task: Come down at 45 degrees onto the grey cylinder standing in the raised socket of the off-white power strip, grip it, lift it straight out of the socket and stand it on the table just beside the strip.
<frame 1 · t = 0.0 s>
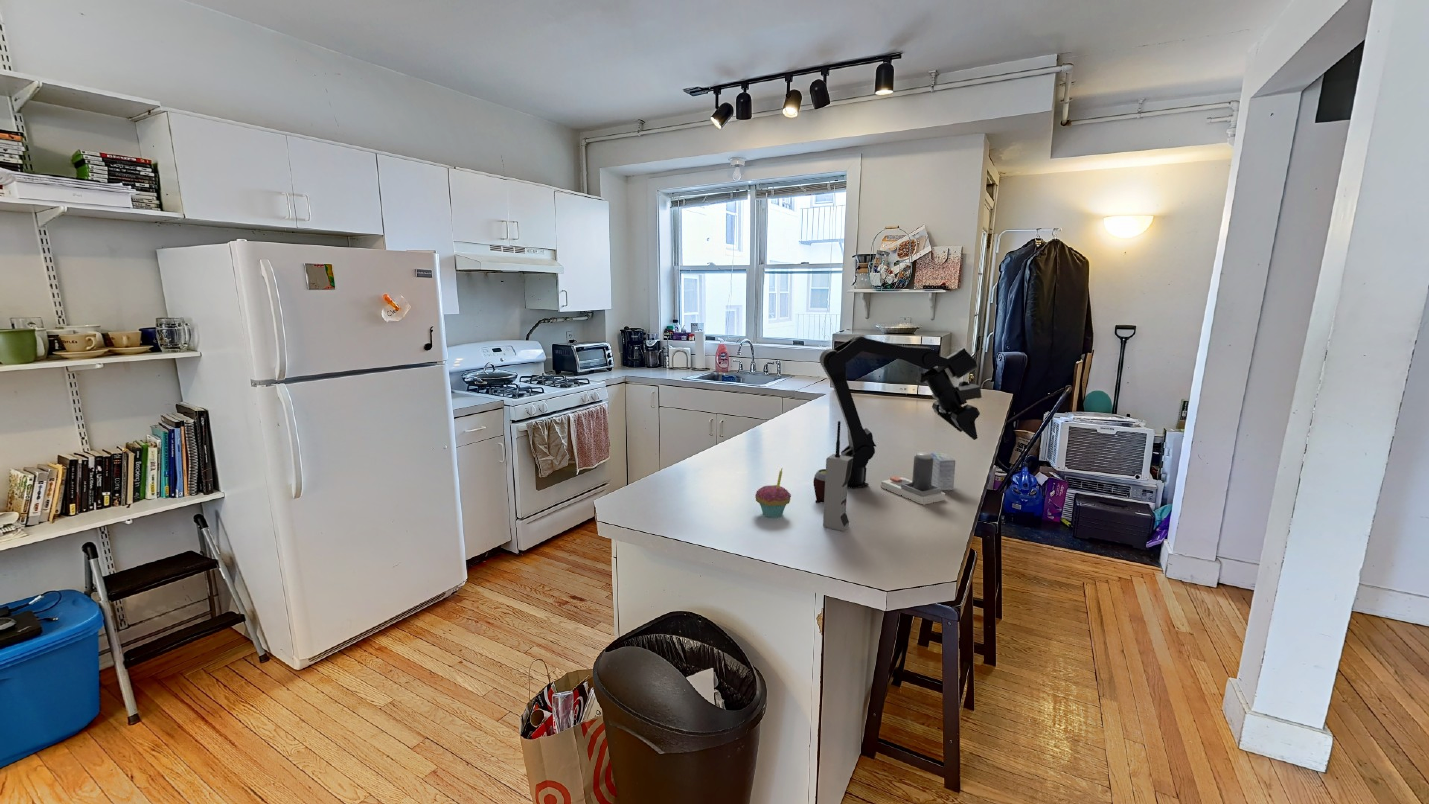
hand: (968, 434, 158), 15 cm above the table, tool tilted 35°, fingers open, 9 cm apart
grey cylinder: (921, 490, 152), point 2 cm above the table, touching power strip
cupcake: (772, 515, 139), on the table
mate gourd: (828, 502, 148), on the table
vintage mobile phone: (835, 527, 132), on the table
medicine box: (940, 486, 161), on the table
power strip: (911, 493, 155), on the table
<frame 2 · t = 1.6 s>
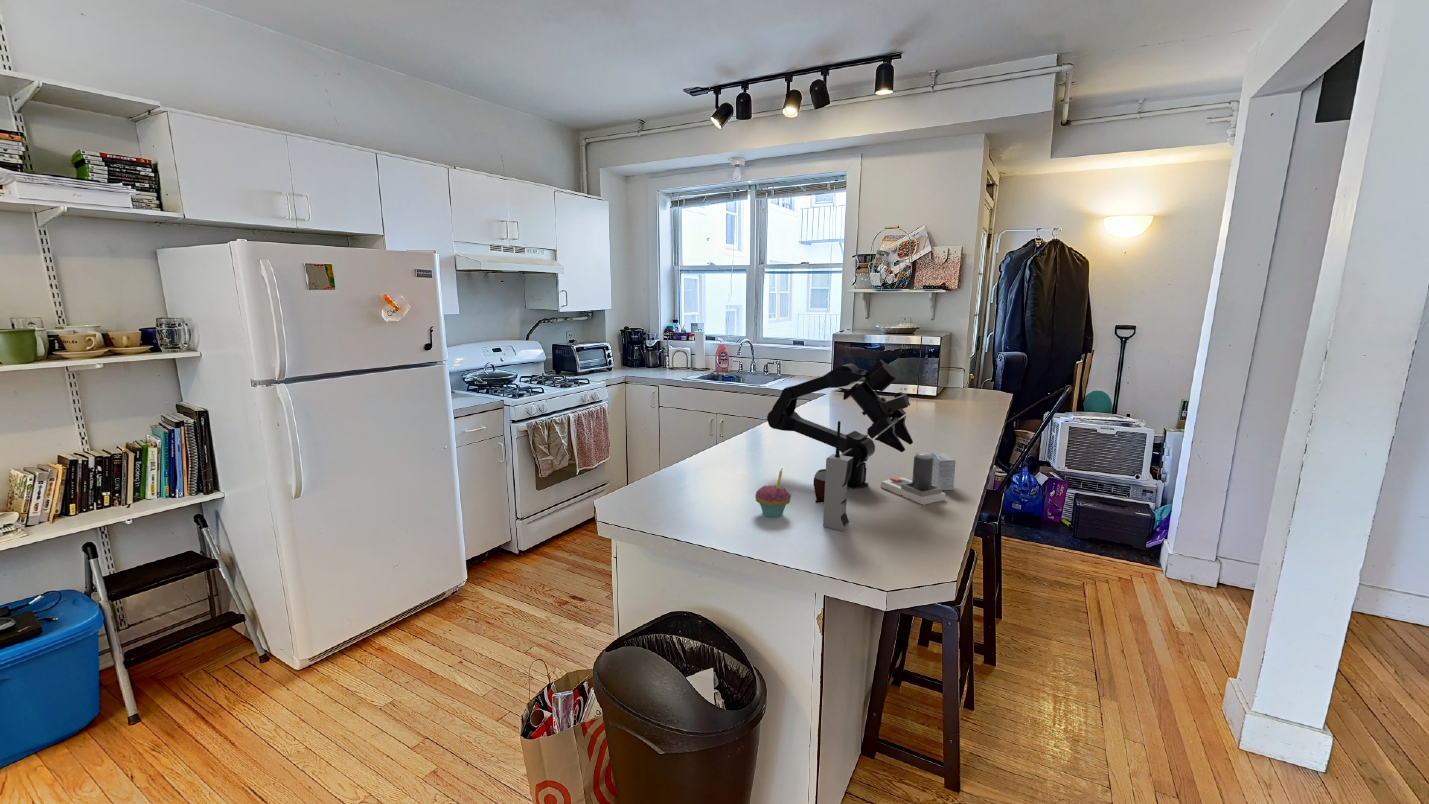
hand: (907, 447, 152), 13 cm above the table, tool tilted 45°, fingers open, 9 cm apart
nothing on the table moved.
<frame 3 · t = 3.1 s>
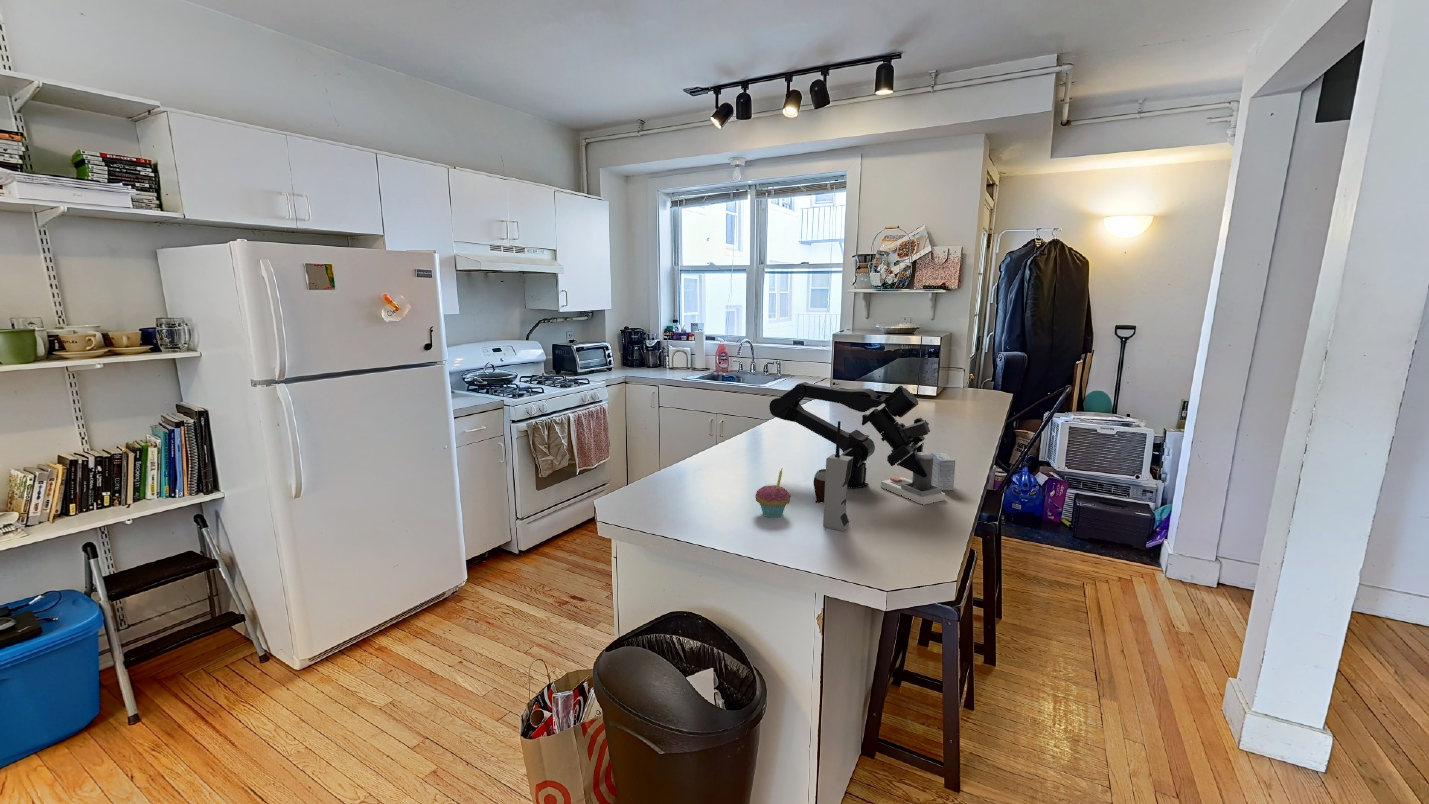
hand: (928, 474, 150), 7 cm above the table, tool tilted 45°, fingers closed on grey cylinder, 5 cm apart
grey cylinder: (921, 490, 152), point 2 cm above the table, touching gripper, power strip
everything else where it was.
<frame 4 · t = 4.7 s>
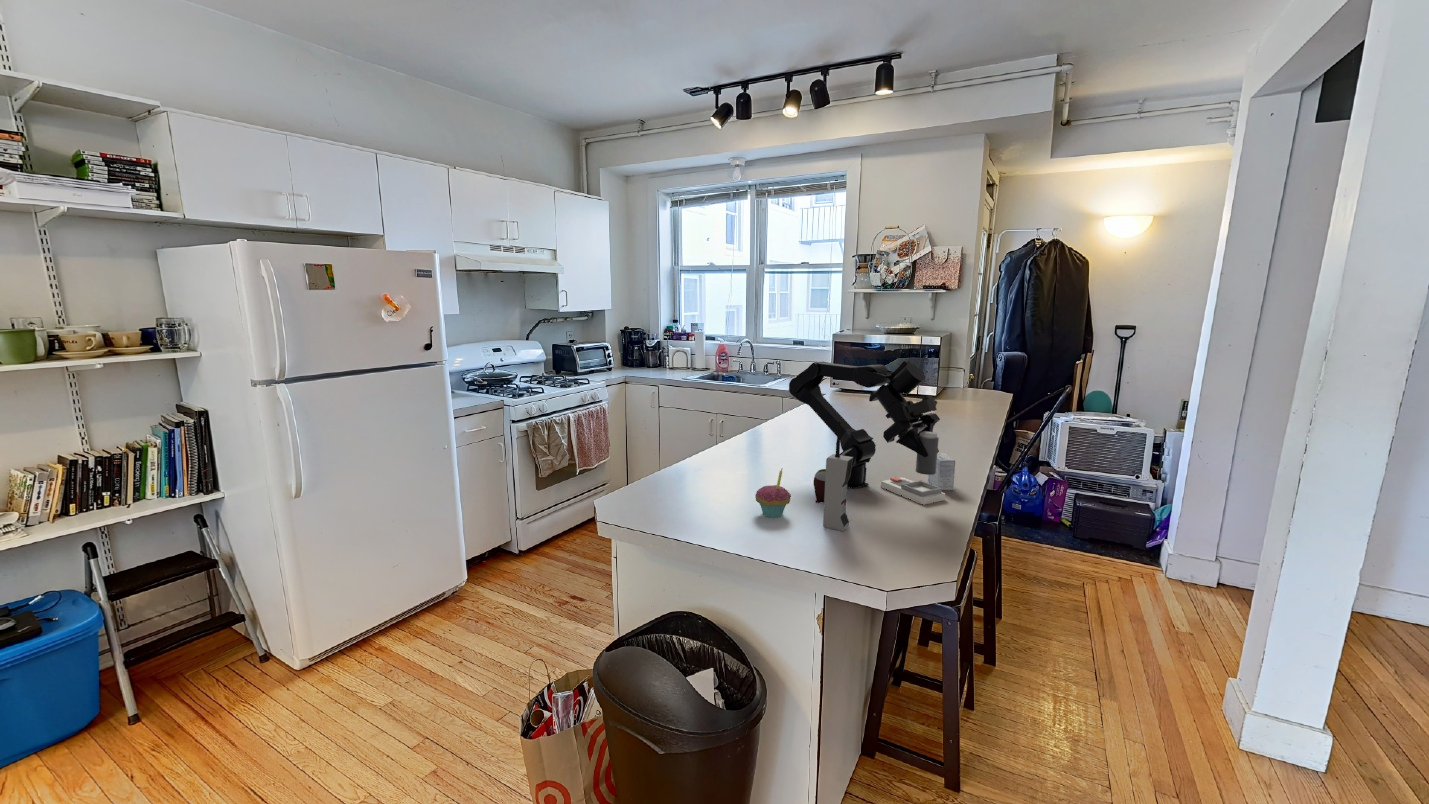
hand: (932, 454, 142), 14 cm above the table, tool tilted 45°, fingers closed on grey cylinder, 5 cm apart
grey cylinder: (925, 471, 144), point 9 cm above the table, touching gripper
everything else where it was.
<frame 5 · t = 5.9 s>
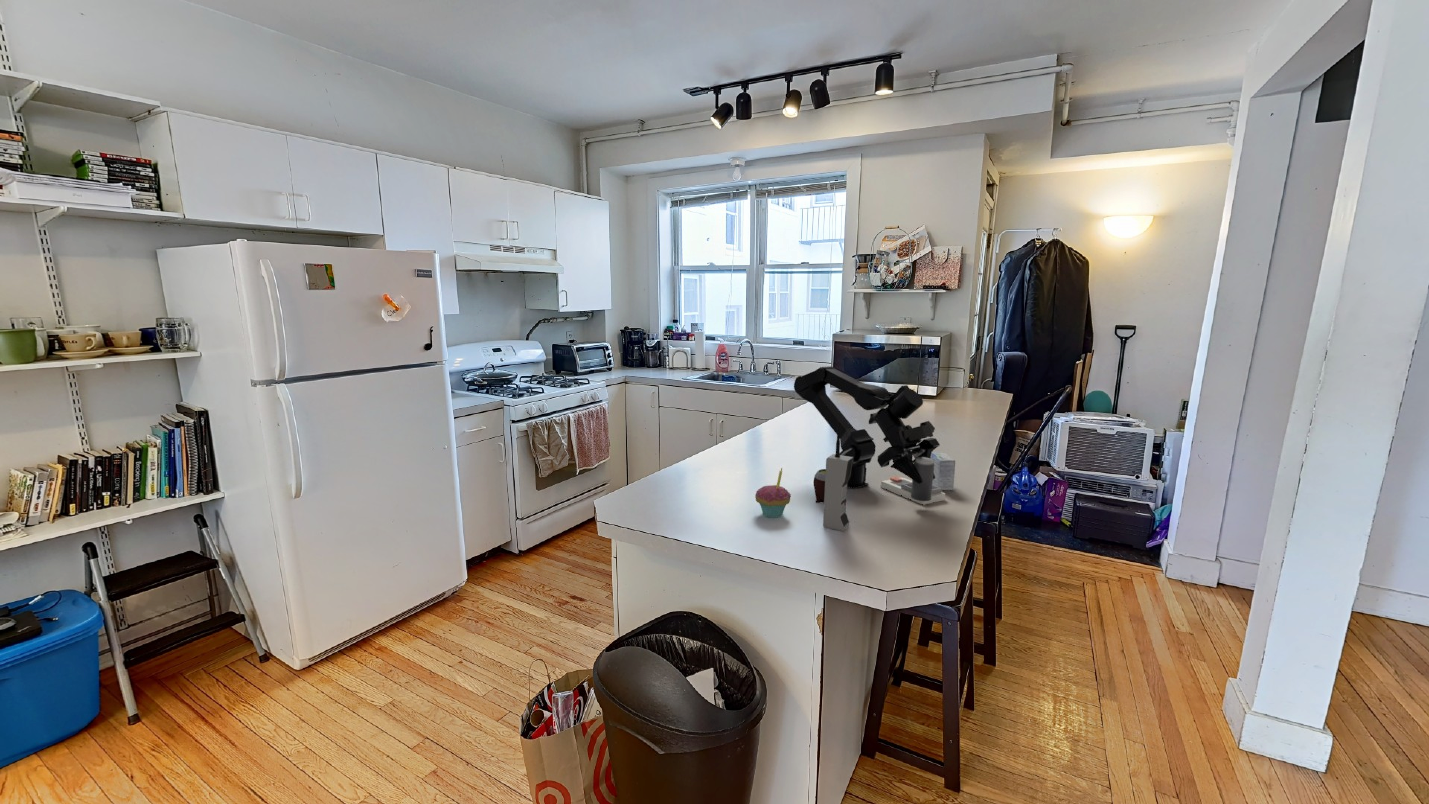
hand: (927, 481, 141), 8 cm above the table, tool tilted 45°, fingers closed on grey cylinder, 5 cm apart
grey cylinder: (920, 497, 143), point 3 cm above the table, touching gripper
everything else where it was.
when the fingers open (6 cm above the table, at t = 6.5 s): grey cylinder drops 2 cm, on the table.
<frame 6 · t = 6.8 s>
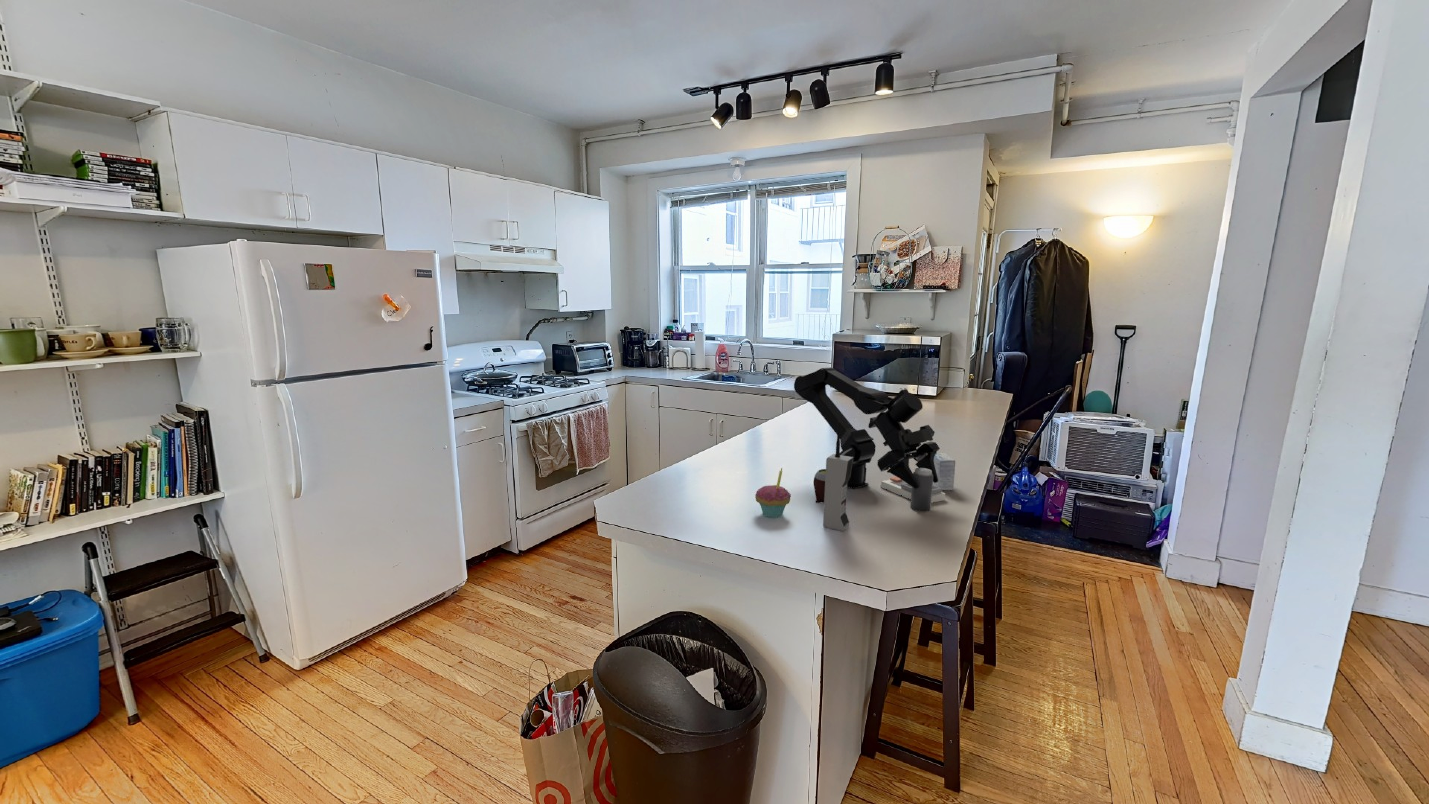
hand: (927, 484, 142), 7 cm above the table, tool tilted 45°, fingers open, 8 cm apart
grey cylinder: (920, 508, 144), on the table
everything else where it was.
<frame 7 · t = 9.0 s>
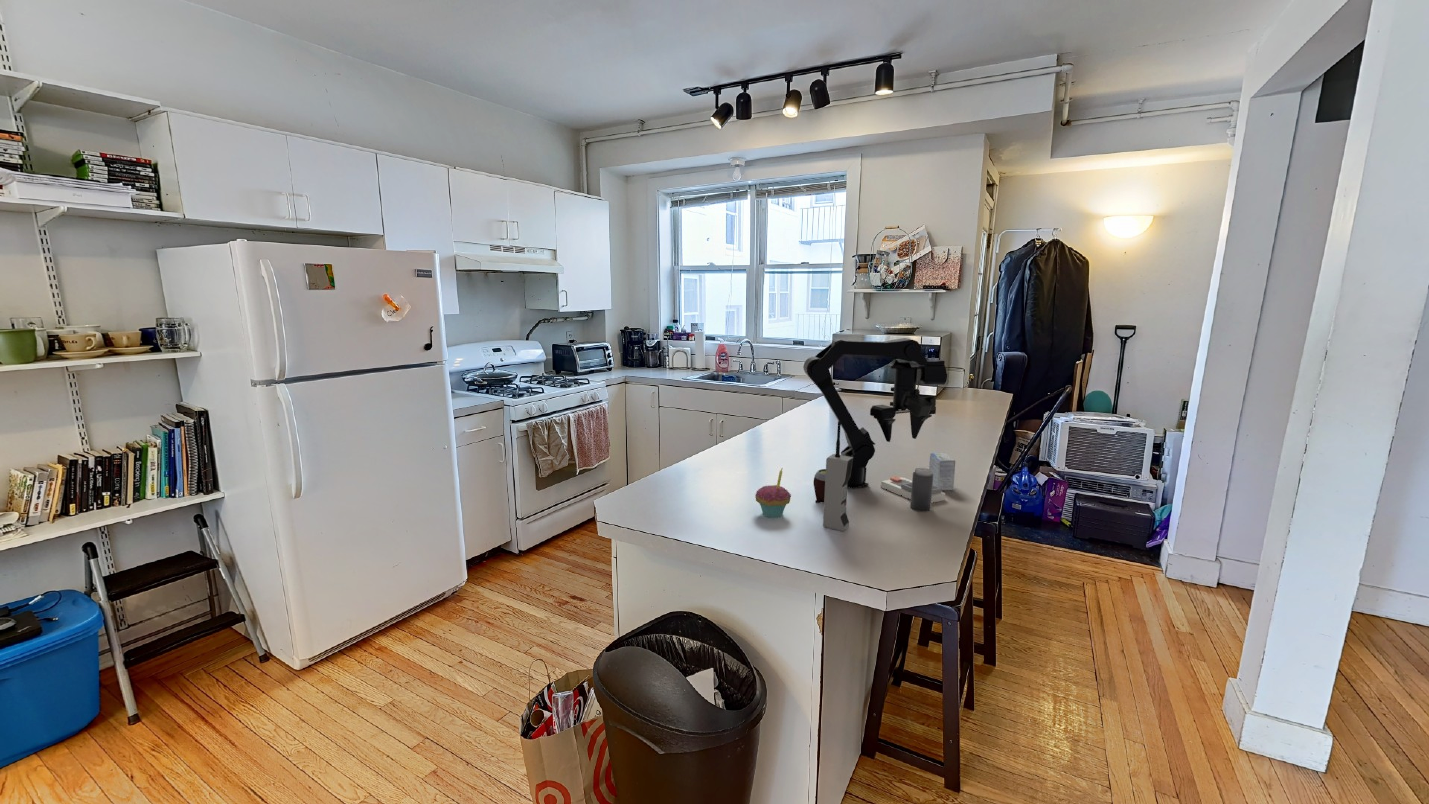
hand: (901, 440, 159), 13 cm above the table, tool pointing down, fingers open, 9 cm apart
nothing on the table moved.
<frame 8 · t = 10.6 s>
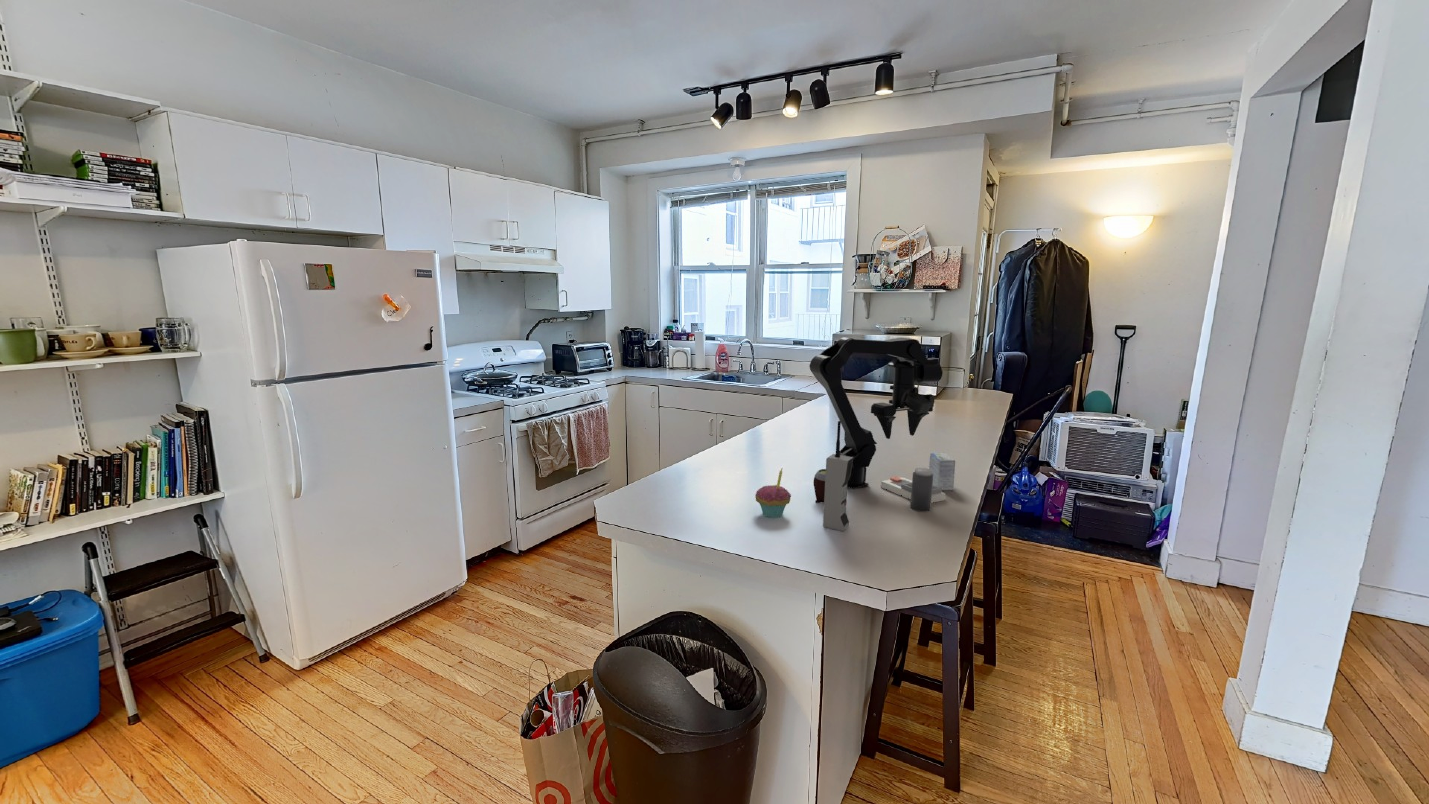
hand: (900, 437, 163), 13 cm above the table, tool pointing down, fingers open, 9 cm apart
nothing on the table moved.
at the end: grey cylinder inside the target area (0.1 cm from its centre), on the table; grey cylinder tilted 0°; the gripper is holding nothing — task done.
